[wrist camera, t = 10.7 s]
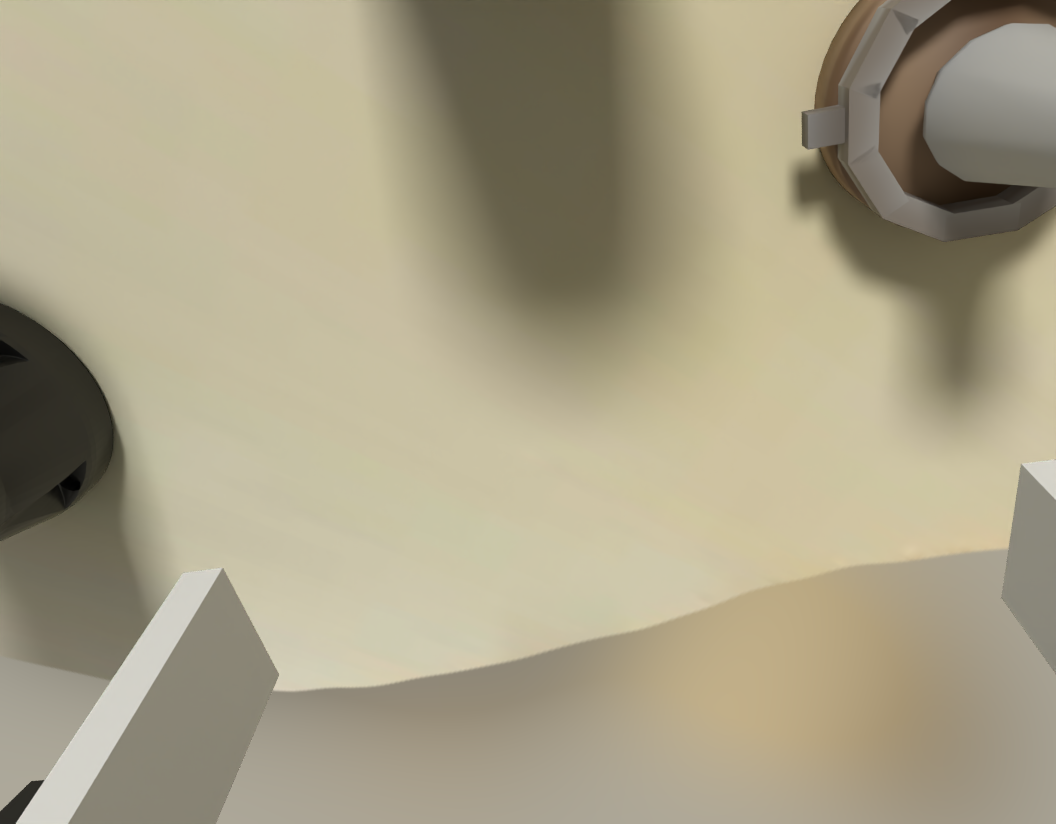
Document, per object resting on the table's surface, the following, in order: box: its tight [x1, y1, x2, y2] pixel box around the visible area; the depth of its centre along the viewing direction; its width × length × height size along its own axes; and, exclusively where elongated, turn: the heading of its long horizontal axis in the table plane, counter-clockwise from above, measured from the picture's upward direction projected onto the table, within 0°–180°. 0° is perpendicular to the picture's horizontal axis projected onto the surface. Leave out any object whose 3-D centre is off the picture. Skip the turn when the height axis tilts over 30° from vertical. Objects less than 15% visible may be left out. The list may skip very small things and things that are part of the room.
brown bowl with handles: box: [802, 0, 1056, 242], centre depth 31 cm, size 14×12×4 cm
